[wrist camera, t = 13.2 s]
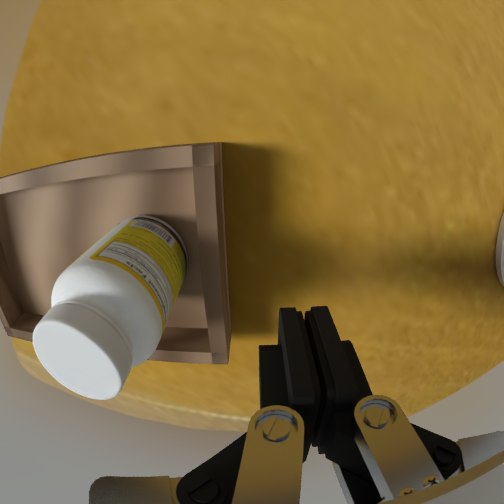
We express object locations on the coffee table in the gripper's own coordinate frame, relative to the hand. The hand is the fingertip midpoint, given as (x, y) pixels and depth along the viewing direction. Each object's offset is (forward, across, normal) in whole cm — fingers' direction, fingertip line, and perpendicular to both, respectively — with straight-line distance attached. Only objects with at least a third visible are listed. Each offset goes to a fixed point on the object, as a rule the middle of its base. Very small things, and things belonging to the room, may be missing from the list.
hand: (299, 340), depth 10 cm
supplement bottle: (+8, +8, 0) cm, 11 cm away
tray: (+9, +13, 0) cm, 16 cm away
